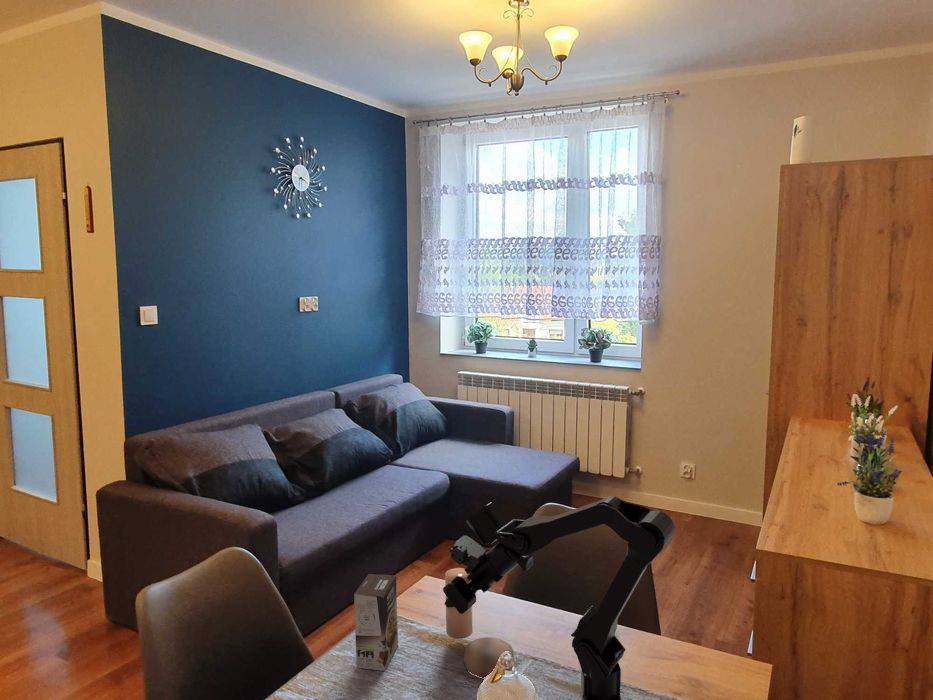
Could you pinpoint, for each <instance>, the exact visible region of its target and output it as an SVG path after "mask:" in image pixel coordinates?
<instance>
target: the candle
mask: <svg viewBox="0 0 933 700" xmlns="http://www.w3.org/2000/svg"><path fill="white" fill-rule="evenodd" d="M464 569H465V568H463V567H455V568H451V569H448V570H447V571H446V572H445V573H444V577H445V578H444V581H445V586H446V585H447V584H448V583H449V582H451V581H452V580H453V579H454V578H455V577H457V576H458V577H462V578H463V579H464V580H465V582H466V583H467V584H469V583H470V582H471V580H470V581H469V580H468V579H467V578H466V577H467V576H468V575H469V574H467V573H466V571H465V570H464ZM445 586H444V587H445ZM471 589H472V588H471ZM447 598H448V597H447V596H446V595H445V601H446V600H447ZM445 626H446V628H445V629H446V635H447V636H448V637H449V638H452V639H457V640H462V639H466V638H469V637H470V636H471V635H472V634H473V628H474V627H473V605H472V606H471V607H470V608H469V609H468V610H467V611H466V612H464V613H463V614H460V613H459V612H458V611H457V609H456V608H455V607H449V608H447V607H446V606H445Z"/></svg>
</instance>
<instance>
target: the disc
mask: <svg viewBox="0 0 933 700" xmlns="http://www.w3.org/2000/svg"><path fill="white" fill-rule="evenodd" d="M505 651H509V652H511V654H512V657H513V658H514V648H513V647H512V645H511V644H510V643H508V642H507V641H506V640H503V639H501V638H497V637H487V636H485V637H479V638H476V639H474V640H472V641H470V642H469V643H468V644H466V646H465V648H464V650H463V652H464V653H463V657H464V659H463V660H464V662H463V664H465V665H464V668H465V667H466V669H467V670H468V671H469V672H471V673H472V674H474V675H477V676H479V677H482V678H484V677H486V676H487V675H489V674H490V673H491V672H492V671H493V669H494V668H495V666H496V664H497V661H498V659H499V657H500V655H501V654H502V653H503V652H505ZM466 669H465V670H466ZM467 670H466V671H467Z"/></svg>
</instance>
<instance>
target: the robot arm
mask: <svg viewBox="0 0 933 700" xmlns="http://www.w3.org/2000/svg"><path fill="white" fill-rule="evenodd" d="M465 522H466V523H467V525H468V526H469V527H470V528H471V530H472V531H473V532H474V533H475V536H476V537H477V538H478V539H479V541H480V542H481V543H482V544H483V545H484V546H485V545H487V544H488V545H489V546H491V545H492V544H494V542H496V541H497V542H498V543H496V544H495V545H493V547H489V548H488V549H485V548H483V547H482V545H481V544H480V543H478V542H477V541H475V540H474V539H473V538H471V537H469V536H468V535H463V536H461V537H460V538H459V539H458V540H456V541H454V544H453V546H452V547H451V548H450V549H449V552H450V555H449V556H450V559H451V560H453V561H454V562H455V563H456V564H458V565H463V566H466V567H465V568H464V570H465V571H466V573H467V574H469V575H468V576H467V577H466V578H467V579H468V580H469V581H470V580H471V582H470V583H469V584H467V583H466V582H465V580H464V579H463V578H462V577H458V576H457V577H455V578H454V579H453V580H452V581H451V582H449V583H448V584H447V585H446V586H443V587H442V592H443V594H444V595H445V597H446V596H447V597H448V598H447V600H446V599H445V601H444V605H445V608H446V607H447V608H449V607H455V608H456V609H457V611H458V612H459V613H460V614H463V613H464V612H466V611H467V610H468V609H469V608H470V607H471V606H472V607H473V605H474V604H476V603H477V595H476V593H477V592H478V591H482V592H483V593H482V594H484V593H486V592H487V591H488V590H489V589H490V588H492V587H493V586H494V584H497V583H499V582H500V581H501V580H502V579H503V578H504V577H505V576H506V575H507V574H508V573H509V572H511V571H512V570H513V569H515V568H516V567H517V566H519V567H520V569H521V570H522V571H523V572H527V571H528V570H529V569H531V567H533V566H534V558H533V556H534V554H535V553H537V552H538V551H540V550H541V549H543V548H544V547H546V546H547V545H549V544H551V543H553V542H554V541H555V540H558V539H561V538H564V537H565V538H566V537H568V536H571V535H574V534H577V533H580V532H583V531H586V530H590V529H593V528H595V527H599V526H601V525H605V526H607V527H609V528H610V529H611V530H613V532H614V533H615V534H617V536H618V537H620V538H621V539H622V540H624V541H626V542H627V545H626V546H627V547H626V555H625V558H624V559H623V562H622V564H621V566H620V568H619V570H618V571H617V573H616V575H615V577H614V579H613V580H612V582H611V584H610V586H609V588H608V589H607V591H606V593H605V595H604V596H603V599H602V601H601V602H600V603H599V606H598V608H596V607H595V606H594V605H591V606H590V607H589V608H588V609H587V610H586V612H585V613H584V614H583V615H581V617H580V619H579V620H578V623H577V626H576V628H575V629H574V630H573V632H572V633H571V634H570V636H571V637H572V640H571V641H572V642H571V648H573V651H574V653H575V654H576V656H577V660H578V663H579V666H580V669H581V679H580V680H581V681H580V682H581V683H580V688H581V692H582V695H583V697H584V698H585V700H623V699H622V696H621V686H622V684H621V680H622V679H621V676H622V669H621V666H620V663H619V662H620V660H621V659H622V658H623V657H624V653H625V652H626V648H625V646H624V645H623V644H622V643H621V641H620V640H619V638H617V636H616V635H615V634H616V632H617V628H618V619H619V617H620V616H621V614H622V612H623V610H624V608H625V606H626V604H627V603H628V601H629V599H630V597H631V596H632V594H633V592H634V590H635V589H636V586H637V585H638V583H639V582H640V581H641V578H642V577H643V574H644V573H645V571H646V569H647V567H648V566H649V565H650V564H651V562H652V561H654V560H655V558H656V557H658V555H659V554H660V553H661V552H662V551H663V549H664V548H665V547H666V545H667V544H668V543H669V542H670V540H671V539H672V538H673V536H674V535H675V532H676V526H675V524H674V521H673V520H672V518H671V517H670V516H669V514H667V513H665V512H664V511H661V510H654V509H651V508H649V507H647V506H646V505H643V504H638V503H635V502H629V501H627V500H623V499H622V498H620V497H617V496H616V495H615V496H614V495H608V496H605V497H604V498H602V499H600V500H598V501H597V500H596V501H595V502H591V503H589V504H586V505H582V506H579V507H577V508H574V509H571V510H568V511H566V512H562V513H559V514H557V515H552V516H551V515H550V516H548V515H539V516H533V517H532V516H531V517H529V518H527V519H516V518H514V519H512V520H511V521H509V522H506V521H505V519H504V518H503V516H502V515H501V513H500V512H499V511H498V509H497V507H496V506H495V504H494V502H491V501H490V502H489V503H488V504H486V505H485V506H483V507H482V508H481V509H479V510H478V511H476V512H475V513H473V514H472V515H470V516H469V517H468V518H467V519H466V521H465ZM471 588H472V589H471Z"/></svg>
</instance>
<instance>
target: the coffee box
mask: <svg viewBox="0 0 933 700" xmlns="http://www.w3.org/2000/svg"><path fill="white" fill-rule="evenodd" d="M353 595H354V596H353V597H354V603H353V604H354V628H355V634H354V635H355V655H356V656H355V660H356V661H355V664H356V668H358V669H366V670H367V669H368V670H374V671H379V672H380V671H381V672H384V671H386V669H387V667H388V666H389V664H390V662H391V660H392V658H393V656H394V654H395V652H396V650H397V649H398V647H399V635H398V634H399V631H398V630H399V628H398V604H397V603H398V598H397V597H398V596H397V595H398V594H397V576H396V575H392V574H391V575H390V574H373V573H368V574H367V575H366V577H364V579H363V581H362V583H361V584H360V586H358V588H357V590H356V591H355V592H354V594H353Z"/></svg>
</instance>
